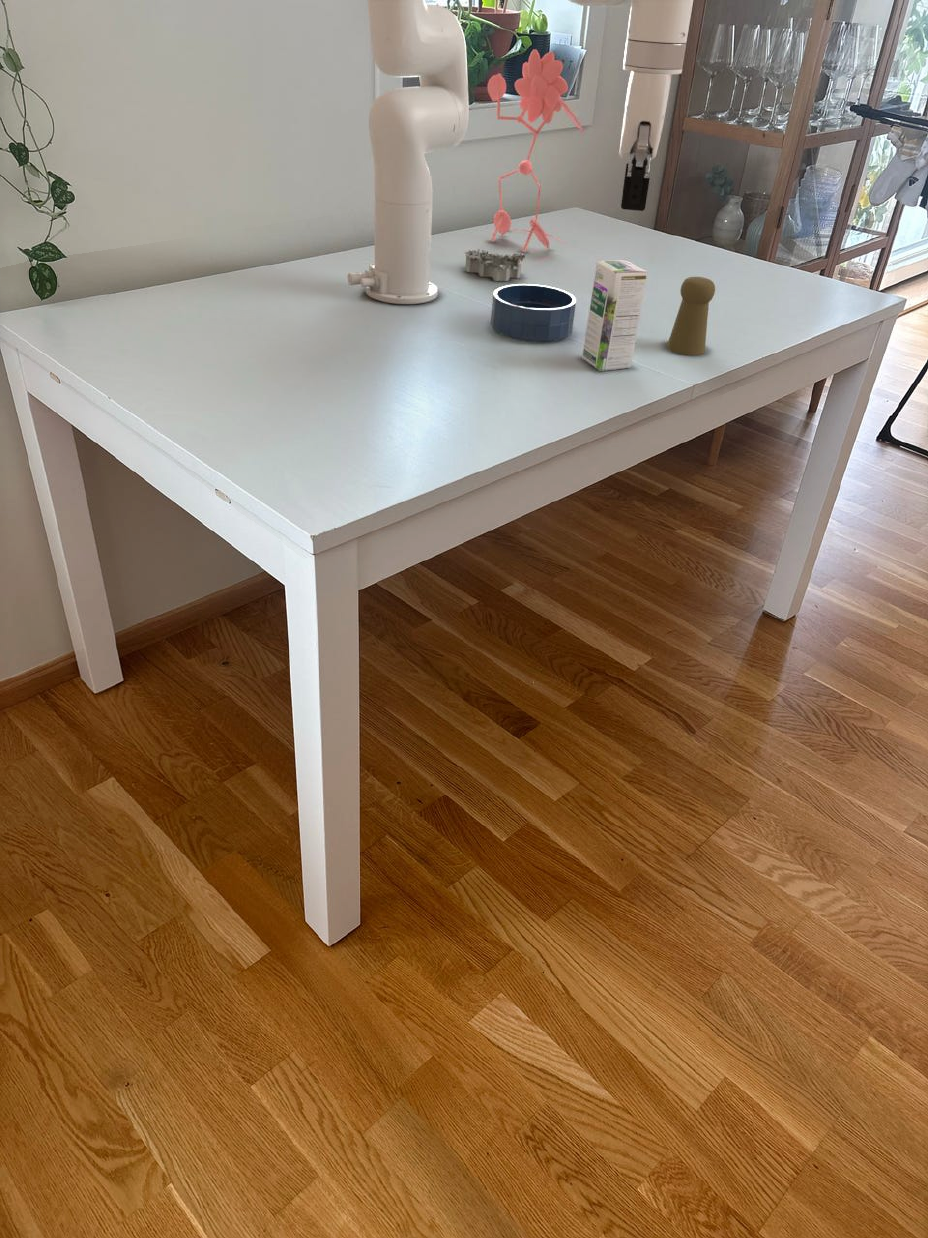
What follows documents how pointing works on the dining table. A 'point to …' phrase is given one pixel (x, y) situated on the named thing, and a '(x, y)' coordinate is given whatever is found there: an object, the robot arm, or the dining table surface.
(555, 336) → the bowl
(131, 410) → the dining table surface
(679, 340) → the olive brown pawn
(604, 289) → the syrup box
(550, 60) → the figurine
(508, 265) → the egg carton
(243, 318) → the dining table surface
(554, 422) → the dining table surface
